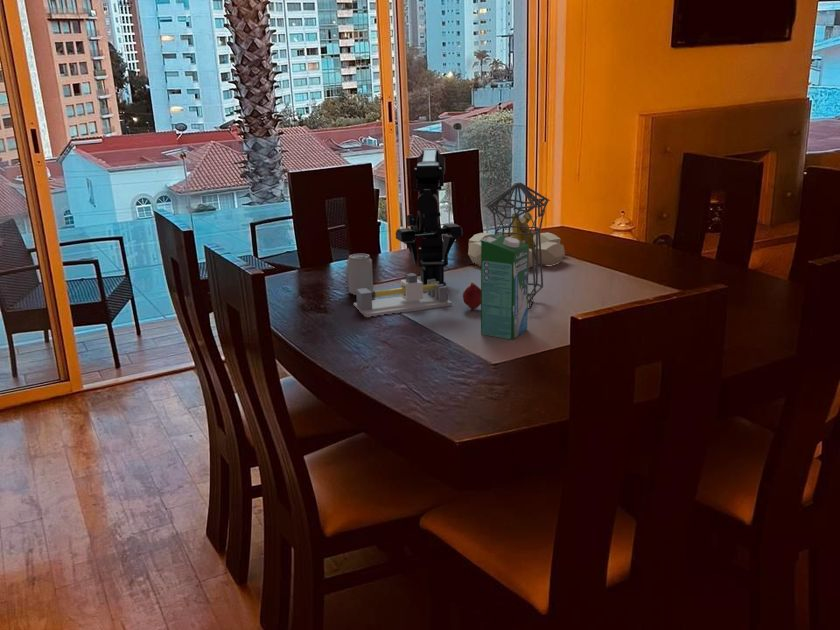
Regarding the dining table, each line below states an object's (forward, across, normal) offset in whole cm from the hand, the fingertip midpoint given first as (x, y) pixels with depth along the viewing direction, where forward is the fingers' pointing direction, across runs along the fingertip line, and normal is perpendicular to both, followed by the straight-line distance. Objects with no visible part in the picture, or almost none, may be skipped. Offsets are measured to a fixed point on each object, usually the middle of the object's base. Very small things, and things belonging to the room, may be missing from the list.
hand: (429, 261), depth 221 cm
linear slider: (+12, +9, 0) cm, 15 cm away
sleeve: (+10, +6, 0) cm, 12 cm away
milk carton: (+12, -8, +33) cm, 36 cm away
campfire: (+12, -46, -36) cm, 60 cm away
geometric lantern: (+12, -22, +12) cm, 28 cm away
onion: (+12, -8, +12) cm, 19 cm away
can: (+12, +16, -18) cm, 27 cm away
